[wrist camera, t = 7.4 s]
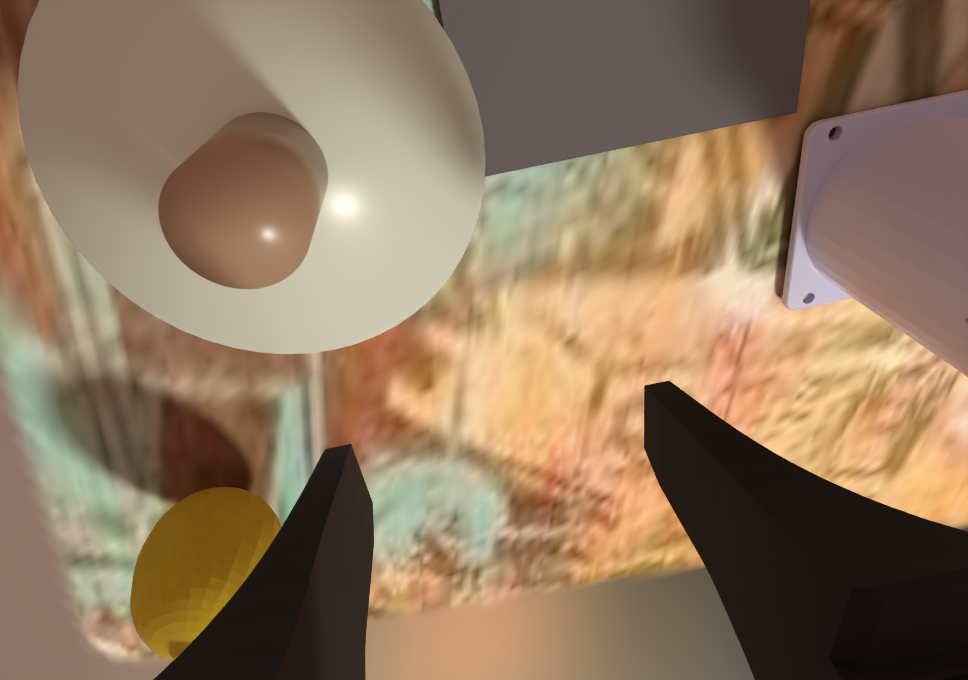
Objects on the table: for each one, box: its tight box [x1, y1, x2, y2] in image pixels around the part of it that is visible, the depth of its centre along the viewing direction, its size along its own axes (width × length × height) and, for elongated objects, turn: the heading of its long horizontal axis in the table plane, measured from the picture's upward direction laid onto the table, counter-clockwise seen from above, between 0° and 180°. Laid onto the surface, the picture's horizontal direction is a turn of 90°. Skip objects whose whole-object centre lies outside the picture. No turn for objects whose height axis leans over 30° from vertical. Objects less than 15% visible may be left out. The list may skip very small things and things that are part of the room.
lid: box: [18, 0, 486, 354], centre depth 14 cm, size 12×12×5 cm
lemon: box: [130, 487, 281, 661], centre depth 24 cm, size 6×6×8 cm
